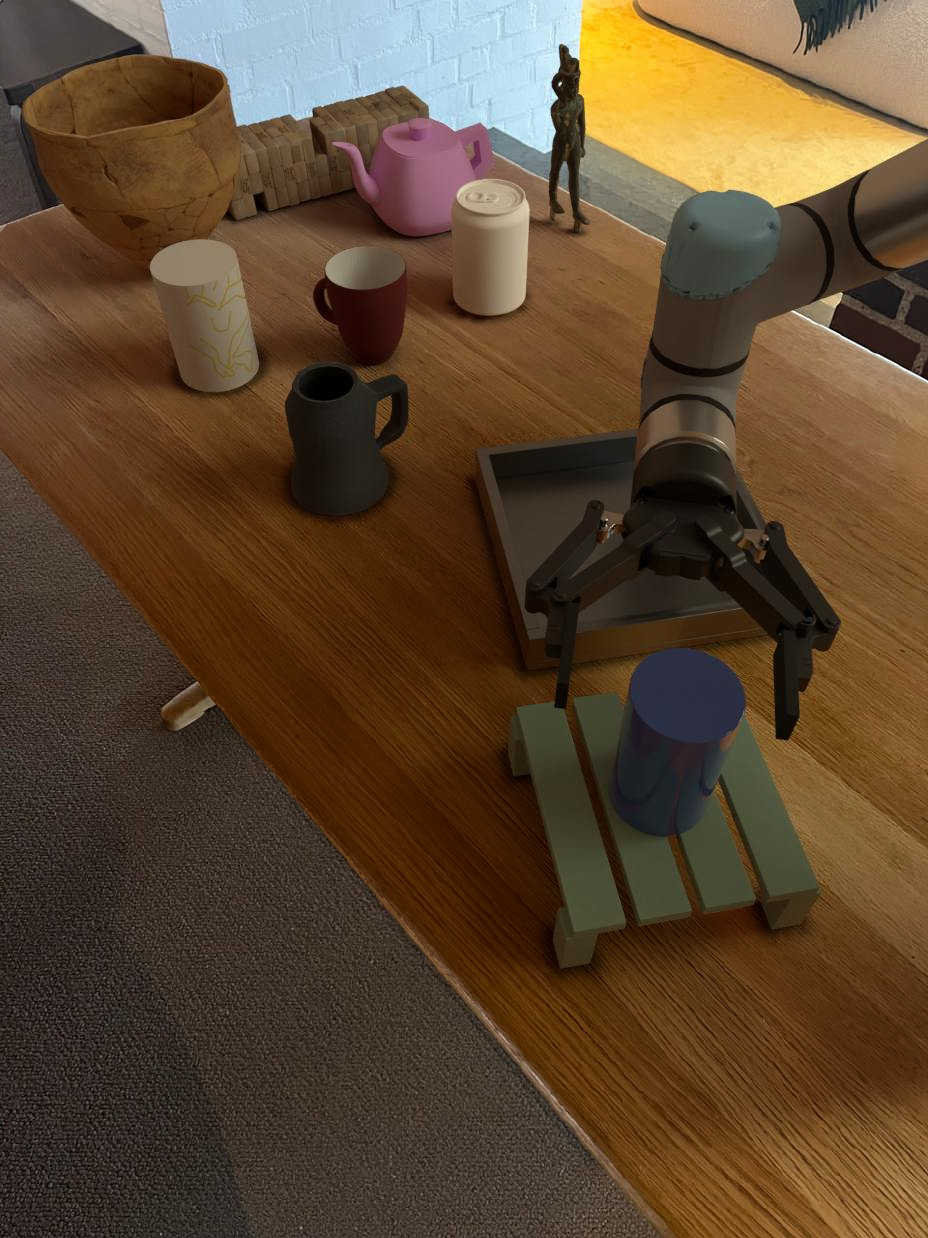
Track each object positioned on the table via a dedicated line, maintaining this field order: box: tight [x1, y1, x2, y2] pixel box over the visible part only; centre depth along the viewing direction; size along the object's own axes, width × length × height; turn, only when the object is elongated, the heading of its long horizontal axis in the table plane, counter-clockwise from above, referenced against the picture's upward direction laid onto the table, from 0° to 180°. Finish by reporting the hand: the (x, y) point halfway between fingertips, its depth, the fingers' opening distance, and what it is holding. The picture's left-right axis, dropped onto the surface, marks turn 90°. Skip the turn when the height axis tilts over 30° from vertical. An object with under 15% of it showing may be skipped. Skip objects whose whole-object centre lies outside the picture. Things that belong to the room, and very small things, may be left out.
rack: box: [507, 691, 822, 970], centre depth 64 cm, size 16×16×6 cm
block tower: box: [226, 84, 430, 221], centre depth 122 cm, size 8×8×29 cm
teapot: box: [332, 118, 496, 237], centre depth 115 cm, size 13×20×11 cm
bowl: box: [21, 54, 241, 270], centre depth 104 cm, size 21×20×20 cm
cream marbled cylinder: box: [150, 239, 260, 393], centre depth 95 cm, size 8×8×12 cm
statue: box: [548, 43, 592, 234], centre depth 109 cm, size 5×6×20 cm
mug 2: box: [284, 361, 410, 517], centre depth 85 cm, size 12×9×11 cm
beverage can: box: [451, 178, 531, 317], centre depth 103 cm, size 8×8×12 cm
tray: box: [475, 428, 772, 672], centre depth 81 cm, size 22×22×4 cm
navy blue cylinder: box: [608, 647, 747, 837], centre depth 57 cm, size 6×6×11 cm
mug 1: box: [312, 245, 409, 366], centre depth 98 cm, size 10×8×10 cm
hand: (672, 712), depth 58 cm, fingers open, 13 cm apart
